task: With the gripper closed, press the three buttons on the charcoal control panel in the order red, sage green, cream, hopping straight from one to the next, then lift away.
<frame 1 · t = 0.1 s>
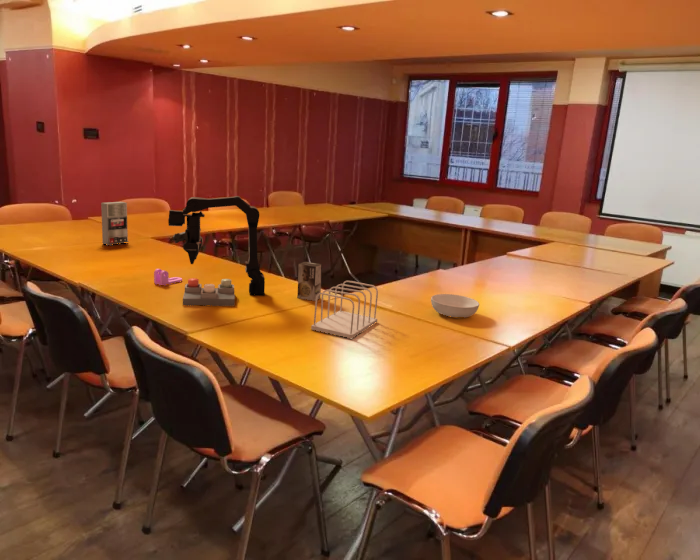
hand: (193, 261, 247), 14 cm above the table, tool pointing down, fingers open, 9 cm apart
bracket: (169, 283, 266), on the table
cassette tape recorder: (115, 244, 340), on the table
cream button: (209, 288, 237), point 6 cm above the table, slide at 0.0 cm
file sorter: (345, 327, 222), on the table
serving bowl: (453, 315, 248), on the table
sage button: (226, 283, 247), point 6 cm above the table, slide at 0.0 cm
control panel: (209, 299, 243), on the table
red button: (193, 282, 244), point 6 cm above the table, slide at 0.0 cm
coffee box: (308, 298, 257), on the table
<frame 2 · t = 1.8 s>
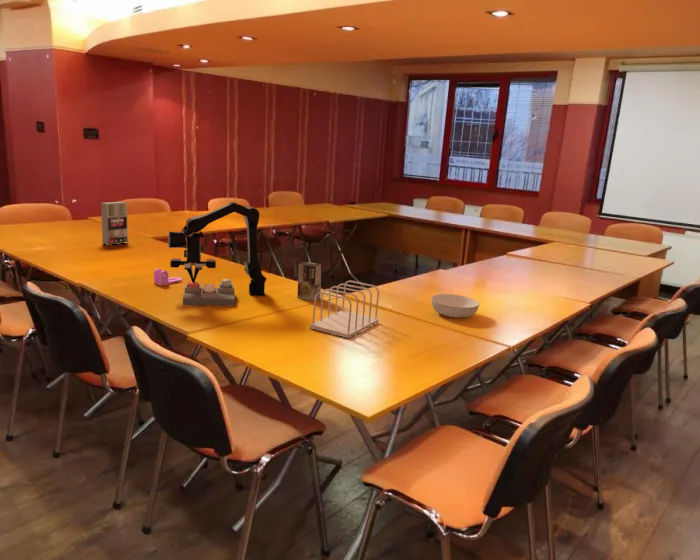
hand: (193, 282, 244), 6 cm above the table, tool pointing down, fingers closed, pressing on red button
red button: (193, 285, 244), point 5 cm above the table, slide at 1.3 cm, touching gripper
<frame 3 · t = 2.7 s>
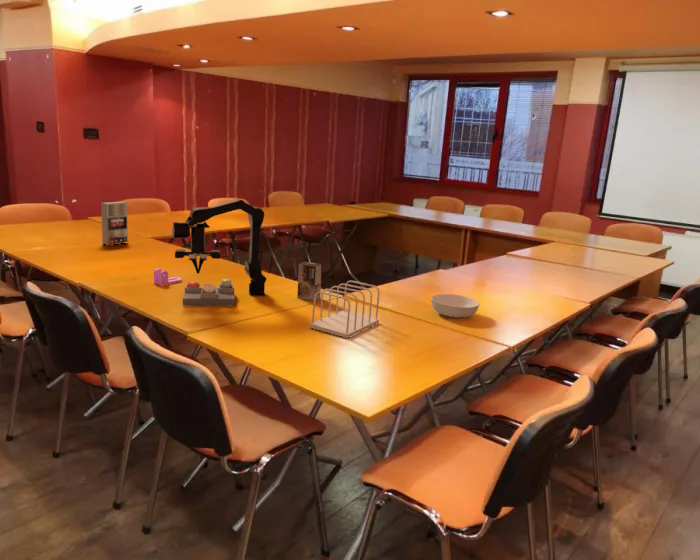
hand: (198, 273, 243), 11 cm above the table, tool pointing down, fingers closed
red button: (193, 285, 244), point 5 cm above the table, slide at 1.3 cm
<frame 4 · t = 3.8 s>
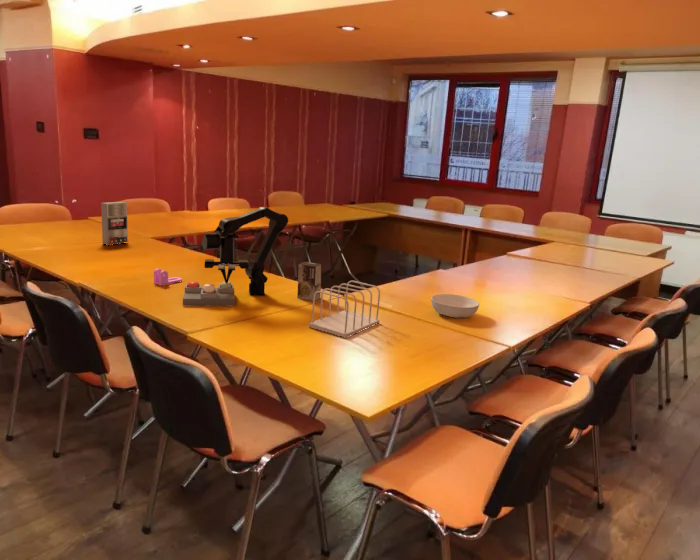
hand: (226, 282, 247), 7 cm above the table, tool pointing down, fingers closed, pressing on sage button
sage button: (226, 286, 247), point 5 cm above the table, slide at 1.3 cm, touching gripper
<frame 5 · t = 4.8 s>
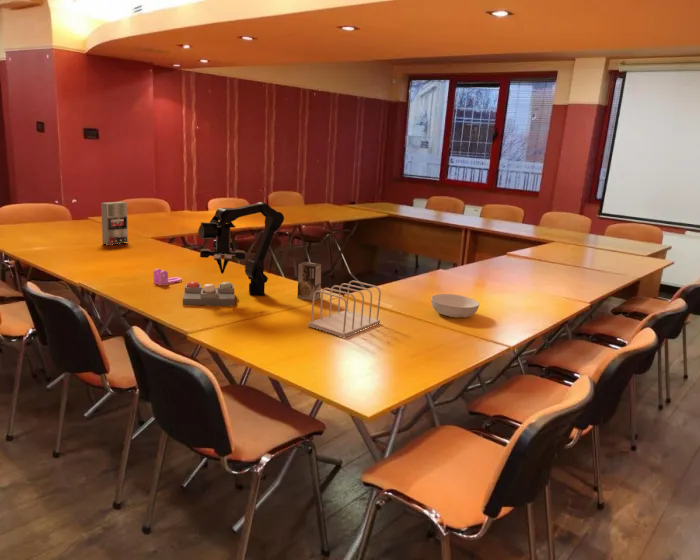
hand: (222, 273, 244), 11 cm above the table, tool pointing down, fingers closed
sage button: (226, 286, 247), point 5 cm above the table, slide at 1.3 cm
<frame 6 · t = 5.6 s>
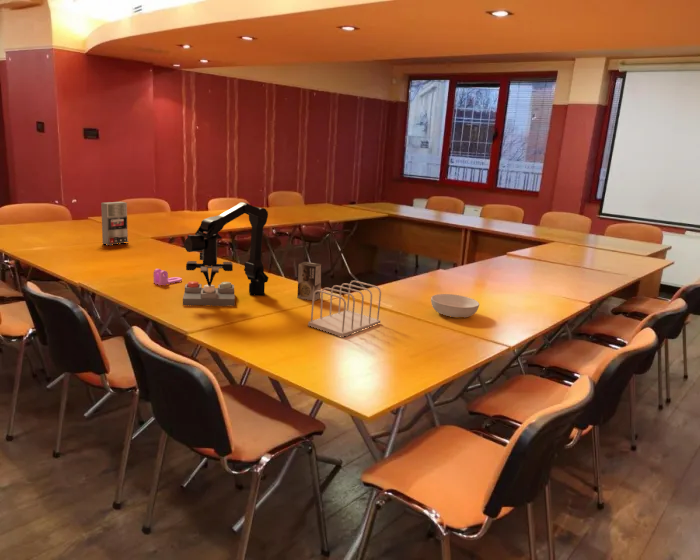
hand: (209, 285, 237), 8 cm above the table, tool pointing down, fingers closed, pressing on cream button
cream button: (209, 289, 237), point 6 cm above the table, slide at 0.3 cm, touching gripper
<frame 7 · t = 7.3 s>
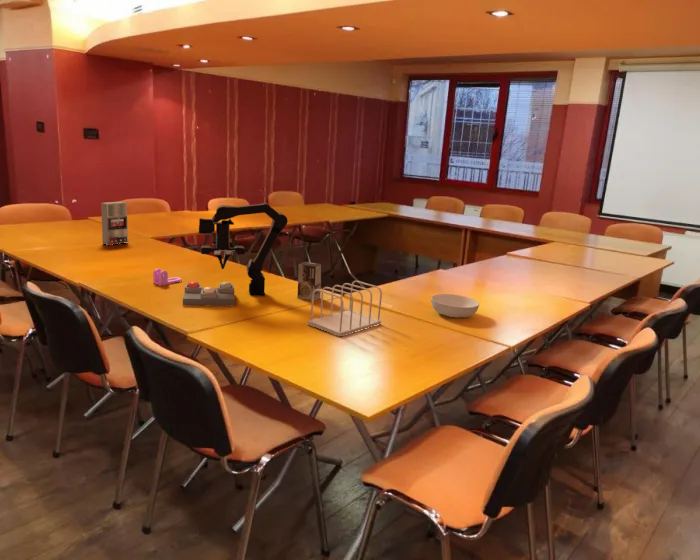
hand: (222, 268, 251), 12 cm above the table, tool pointing down, fingers closed
cream button: (209, 291, 237), point 5 cm above the table, slide at 1.3 cm
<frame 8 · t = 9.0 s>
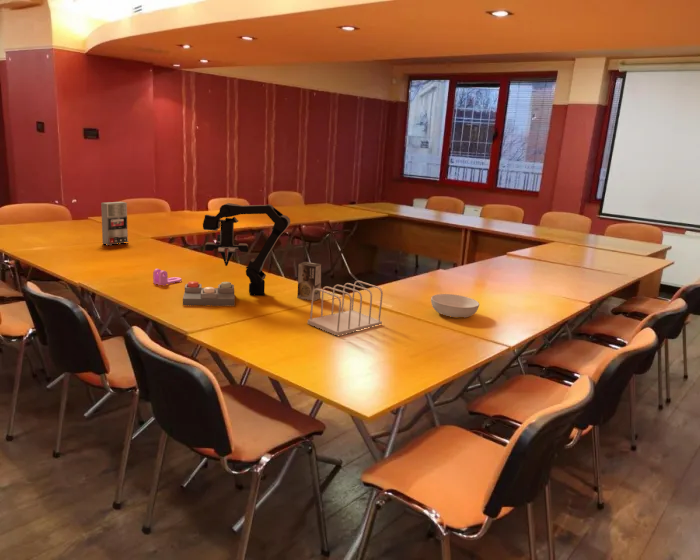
hand: (226, 265, 255), 12 cm above the table, tool pointing down, fingers closed
at the end: red button slide at 1.3 cm; sage button slide at 1.3 cm; cream button slide at 1.3 cm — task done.
